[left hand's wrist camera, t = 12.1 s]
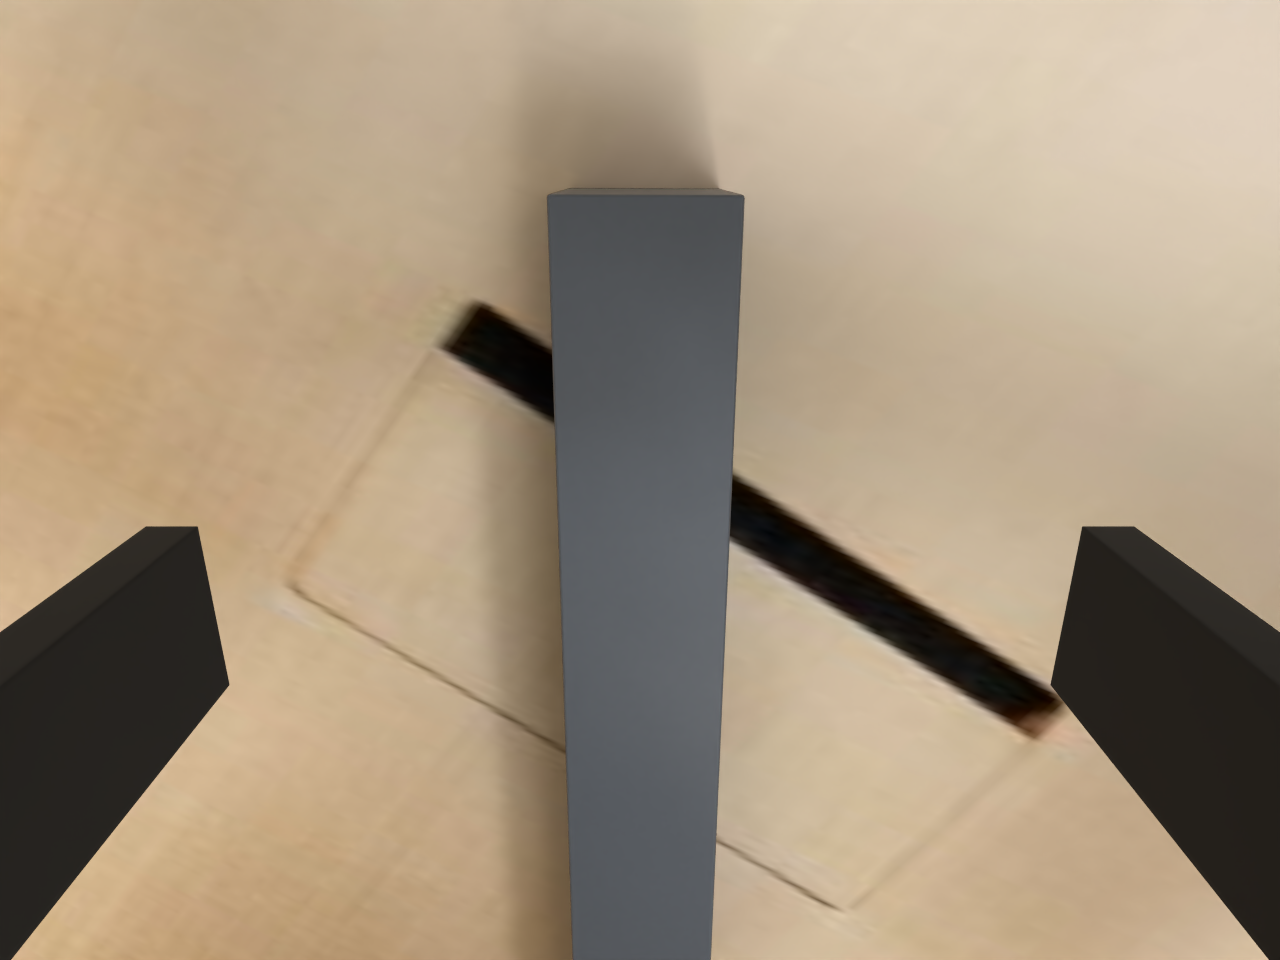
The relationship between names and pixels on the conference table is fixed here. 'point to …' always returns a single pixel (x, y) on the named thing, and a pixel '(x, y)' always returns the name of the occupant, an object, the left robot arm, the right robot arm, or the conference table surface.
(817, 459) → the conference table surface
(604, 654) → the post
